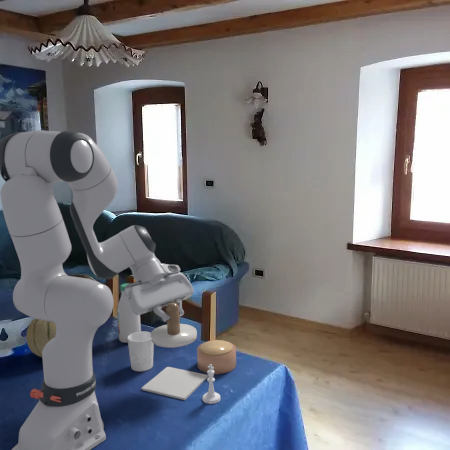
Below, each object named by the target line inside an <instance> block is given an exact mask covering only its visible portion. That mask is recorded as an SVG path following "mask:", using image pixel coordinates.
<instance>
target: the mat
mask: <svg viewBox="0 0 450 450" xmlns="http://www.w3.org/2000/svg"><path fill="white" fill-rule="evenodd" d="M208 378H209V376H208V374H205V373H201V372H200V373H199V372H196V371H191V370H186V369H182V368H177V367H171V366H167V367H164V369H163V370H161V371H160V372H159V373H158V374H156V375H155V376H154V377H152V379H150V380H149V381H147V383H146V384H144V385H143V386H142V387H141V391H144V392H145V391H146V392H149V393H153V394H157V395H162V396H165V397H170V398H174V399H179V400H182V401H186V399H188V398H189V396H191V395H192V394H193V393H194V392H195V391H196V390H197V389H198V388H199V387H200V386H201V385H202V384H203V383H204V381H206V380H207V379H208Z"/></svg>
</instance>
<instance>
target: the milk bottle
mask: <svg viewBox="0 0 450 450" xmlns="http://www.w3.org/2000/svg"><path fill="white" fill-rule="evenodd" d="M131 283H132V282H131ZM131 283H130V282H129V283H127V282H126V283H122V284H121V285H120V288H119V289H120V293H121V294H120V298H119V300H118V301H119V302H118V303H117V327H118V328H117V330H118V340H119V341H120V342H121V343H125V344H128V336H129V335H130V334H132V333H135V332H141V331H142V327H141V315H136V314H134V313H133V311H132V309H131V306H130V304H129V301H128V298H127V297H126V295H125V293H124V288H125V287H126V285H127V284H131Z"/></svg>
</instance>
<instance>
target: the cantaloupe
mask: <svg viewBox="0 0 450 450" xmlns="http://www.w3.org/2000/svg"><path fill="white" fill-rule="evenodd" d="M55 336H56V325H55V323H54V322H49V321H44V320H39V319H34V318H32V321H30V324H29V325H28V327H27V330H26V343H27V346H28V348H29V350H30V351H31V353H33V354H34V355H36V356H38V357H40V358H42V351H43V348H44V347H45V345H46V344H47V343H48V342H49V341H50V340H51V339H53V338H54V337H55Z"/></svg>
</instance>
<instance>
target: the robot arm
mask: <svg viewBox="0 0 450 450" xmlns="http://www.w3.org/2000/svg"><path fill="white" fill-rule="evenodd" d="M0 177H2V179H3V180H4V183H3V185H2V186H1V187H0V188H1V189H0V203H1V208H2V213H3V216H4V220H5V223H6V224H5V225H6V227H7V229H8V233H9V235H10V238H11V240H12V243H13V246H14V249H15V251H16V254H17V257H18V260H19V263H20V272H21V273H20V274H21V275H20V279H19V280H18V281H17V282H16V284H15V286H14V288H13V290H12V291H13V292H12V302H13V304H14V307H15V308H16V310H17V311H19V312H20V313H22V314H23V315H26V316H28V317H29V318H32V319H39V320H44V321H49V322H54V323H55V325H56V336H55V337H54V338H53V339H51V340H50V341H49V342H48V343H47V344H46V345H45V347H44V348H43V351H42V357H41V359H42V370H43V380H42V384H41V388H40V389H38V388H33V389H31V391H30V393H29V394H30V398H32V399H36V400H38V402H37V403H36V405H35V406H34V408H33V409H32V410H31V412H30V414H29V415H28V416H27V418H26V419H25V421H24V423H23V424H22V425H21V427H20V428H19V432H18V443H17V444H16V445H15V446H14V447H12V449H11V450H92V449H94V448H95V447H96V446H98V445H100V444H102V443H103V442H104V441H105V440H106V439H107V436H106V432H105V430H104V427H105V424H104V421H103V419H102V417H101V412H100V411H101V410H100V408H99V407H100V406H99V403H98V399H97V396H96V388H97V384H96V383H97V379H96V373H95V371H94V370H93V369H94V368H93V367H94V366H93V342H94V341H93V340H94V338H95V334H96V332H97V331H98V329H99V328H100V327H101V326H102V325H104V324H105V323H106V322H107V321H108V319H109V318H110V317H111V315H112V312H113V310H114V295H113V293H112V290H111V288H110V287H109V286H107V285H106V284H103V283H101V282H99V281H97V280H94V279H92V278H88V277H87V278H86V277H81V276H79V277H78V276H73V275H72V276H70V275H68V274H67V273H66V272H65V270H64V268H63V264H64V263H65V262H66V260H67V259H68V258H69V256H70V255H71V252H72V249H73V247H72V243H71V240H70V237H69V233H68V229H67V227H66V224H65V221H64V218H63V215H62V213H61V210H60V207H59V205H58V202H57V200H56V198H55V195H54V187H55V183H63V182H66V183H67V184H68V186H69V187H70V189H71V191H72V201H71V202H70V204H69V212H70V216H71V218H72V220H73V221H72V222H73V225H74V227H75V230H76V232H77V235H78V237H79V239H80V242H81V244H82V246H83V248H84V251H85V253H86V257H87V262H88V265H89V268H90V270H91V272H92V273H93V274H94V275H95V276H96V277H97V278H98V279H104V280H111V279H113V278H114V277H116V276H118V275H119V274H120V273H121V272H123V271H124V270H126V269H128V268H129V269H130V270H131V273H132V276H133V279H134V280H135V281H134V282H131V284H127V285H126V287H125V288H124V293H125V295H126V297H127V298H128V301H129V304H130V306H131V309H132V311H133V313H134V314H136V315H140V316H141V315H144V314H146V313H149V312H154V314H155V315H157V316H158V317H159V318H161V320H162V321H163V322H164V323H167V321H168V320H169V319H170V316H169V314H168V313H166V311H164V310H162V308H163V307H167V305H168V304H170V303H176V304H177V305H178V306H179V316H180V317H182V316H184V314H185V311H184V309H183V306H182V305H183V301H184V300H188V299H190V298H191V297H192V296H193V295H194V289H195V288H194V286H193V285H192V283H191V282H190V280H189V279H188V277H187V276H186V275H185V274H184V273H182V272H181V268H180V266H179V265H178V264H168V263H167V264H166V263H161V261H160V259H158V258H157V257H156V255H155V251H156V248H157V247H156V246H157V245H156V243H155V241H154V240H153V239H152V237H151V236H150V232H149V230H148V229H147V228H146V227H144V226H141V225H137V224H133V225H130V226H129V227H127V228H125V229H123V230H121V231H120V232H119V233H117V234H115V235H113V236H111V237H109V238H107V239H106V240H104V241H101V242H99V241H98V239H97V235H96V233H95V231H94V224H95V222H96V220H97V219H98V218H99V217H100V215H102V213H103V212H104V211H105V210H106V209H107V208H108V207H109V206H110V205H111V204H112V202H113V201H114V199H115V198H116V195H117V193H118V188H119V181H118V178H117V176H116V173H115V171H114V169H113V167H112V165H111V163H110V161H109V160H108V158H107V157H106V156H105V154H104V153H103V151H102V150H101V149H100V147H99V146H98V145H97V144H96V142H95V141H94V140H93V139H92V137H90V136H89V135H88V134H85V133H82V132H74V131H70V130H69V131H68V130H65V131H58V130H57V131H56V130H54V131H53V130H45V129H44V130H43V129H42V130H41V129H40V130H30V131H25V132H23V131H18V132H14V133H11V134H8V135H6V136H4V137H3V138H1V140H0Z"/></svg>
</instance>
